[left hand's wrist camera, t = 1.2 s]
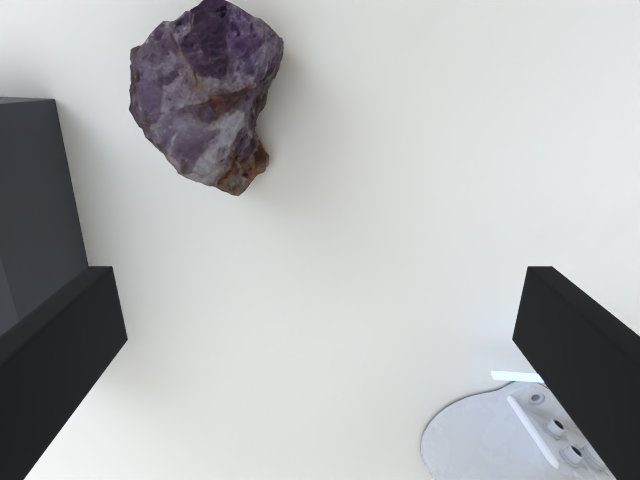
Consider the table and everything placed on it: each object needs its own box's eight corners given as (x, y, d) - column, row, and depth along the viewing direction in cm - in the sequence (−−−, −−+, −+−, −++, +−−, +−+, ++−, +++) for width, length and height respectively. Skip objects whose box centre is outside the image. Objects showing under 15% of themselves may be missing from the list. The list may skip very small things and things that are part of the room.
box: (-24, 95, 31) (-151, 102, 23) (54, 99, 31) (-43, 107, 23) (44, 347, 40) (-29, 417, 32) (104, 349, 40) (48, 420, 32)
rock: (305, 56, 31) (177, 2, 29) (312, 26, 23) (133, -51, 21) (257, 198, 33) (136, 155, 32) (247, 217, 25) (82, 160, 23)
